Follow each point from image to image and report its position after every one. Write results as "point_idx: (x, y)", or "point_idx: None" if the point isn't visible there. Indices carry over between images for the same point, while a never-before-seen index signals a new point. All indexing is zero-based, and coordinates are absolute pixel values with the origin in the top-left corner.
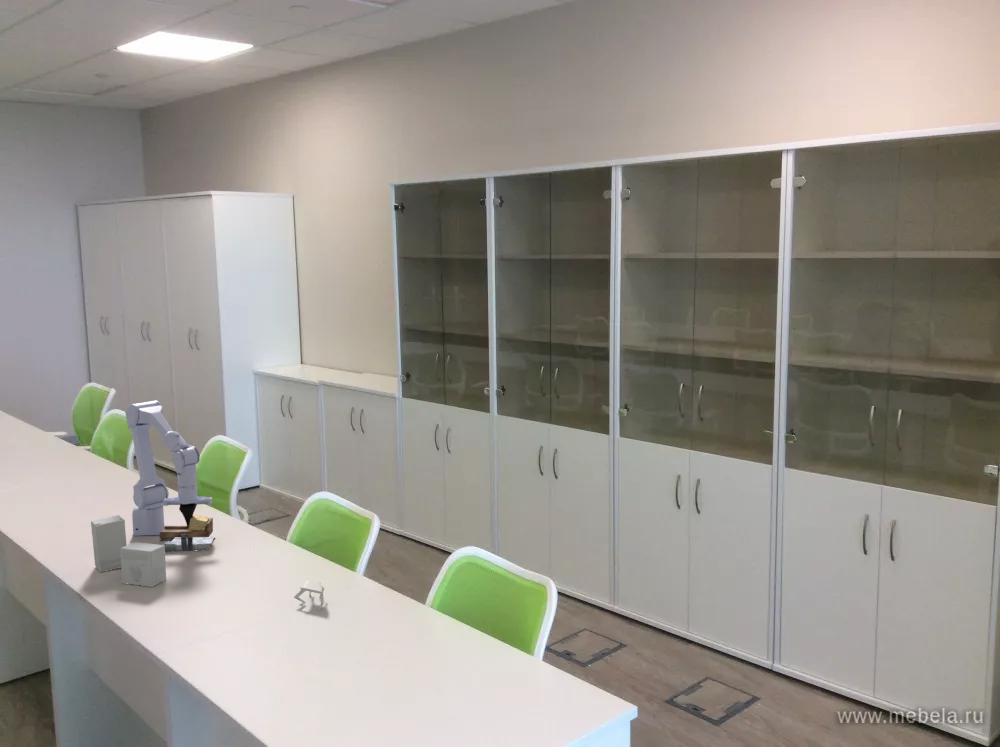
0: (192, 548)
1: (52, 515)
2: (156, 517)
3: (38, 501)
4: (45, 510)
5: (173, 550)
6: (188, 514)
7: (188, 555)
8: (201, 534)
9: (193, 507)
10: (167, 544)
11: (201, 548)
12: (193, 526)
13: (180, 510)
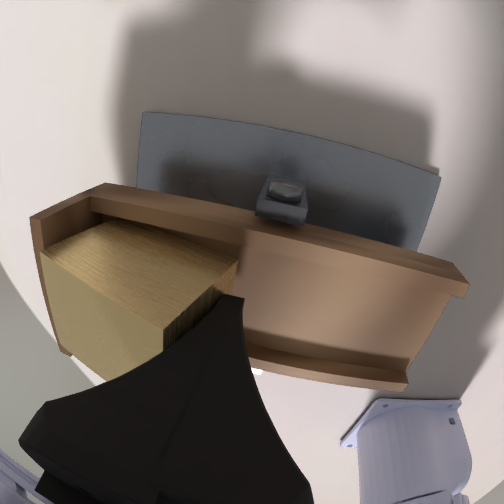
0: (230, 149)
1: (495, 468)
2: (399, 465)
3: (475, 493)
4: (489, 478)
5: (354, 150)
6: (171, 384)
7: (251, 44)
8: (137, 196)
9: (24, 433)
10: None
11: (175, 136)
12: (174, 264)
13: (294, 476)
